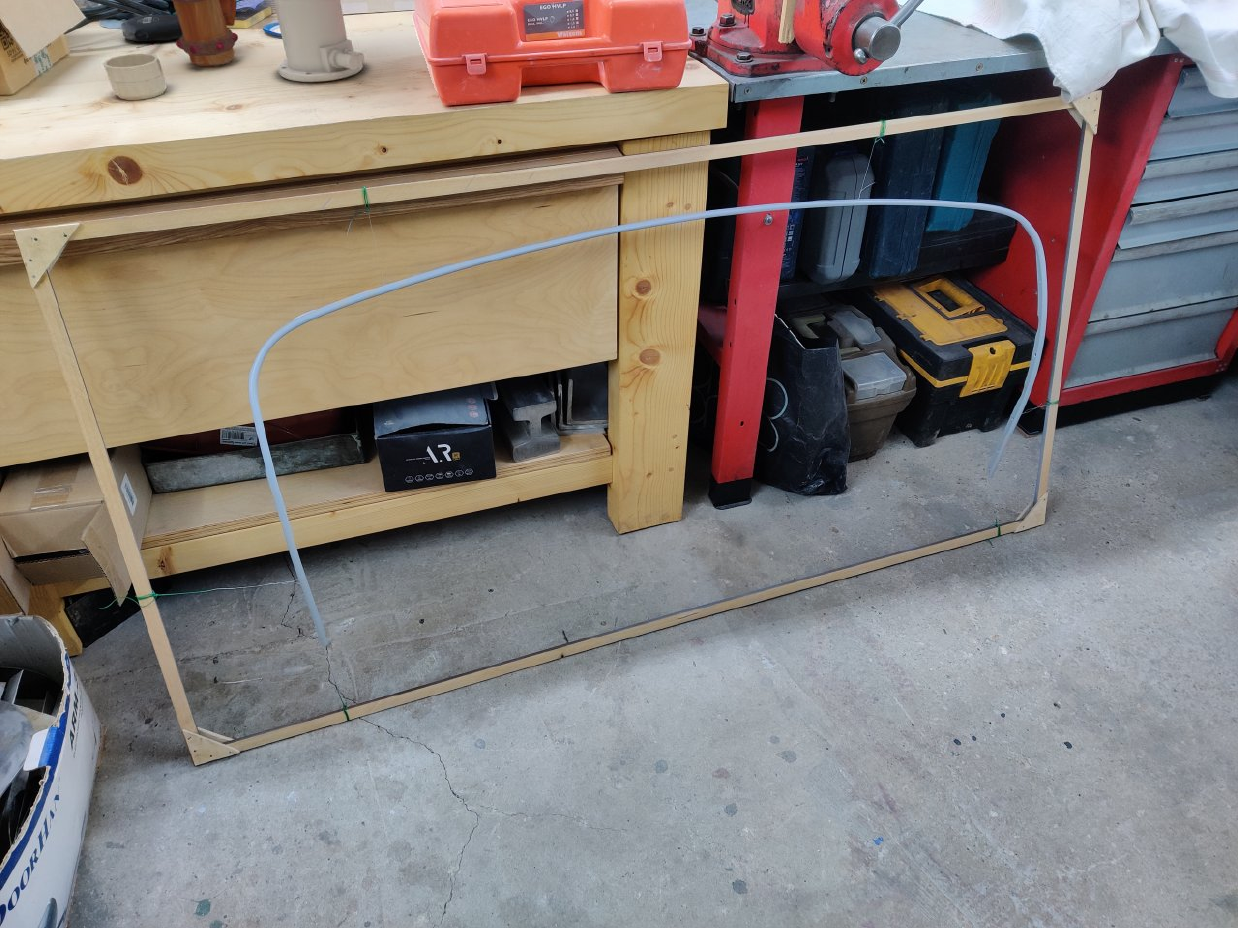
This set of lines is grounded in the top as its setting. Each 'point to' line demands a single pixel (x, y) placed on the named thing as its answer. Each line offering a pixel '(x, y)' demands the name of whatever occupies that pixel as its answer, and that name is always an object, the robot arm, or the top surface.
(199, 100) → the top surface
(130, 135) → the top surface
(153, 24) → the electronic device
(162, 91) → the bowl
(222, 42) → the mug
